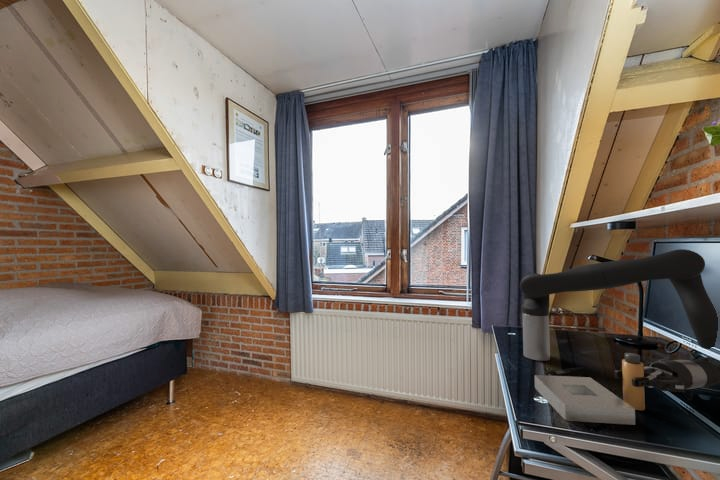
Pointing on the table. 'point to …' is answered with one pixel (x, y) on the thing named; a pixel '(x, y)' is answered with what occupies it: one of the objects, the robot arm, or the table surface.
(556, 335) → the table surface
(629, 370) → the plug
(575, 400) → the grey square-holed plate
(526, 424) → the table surface
